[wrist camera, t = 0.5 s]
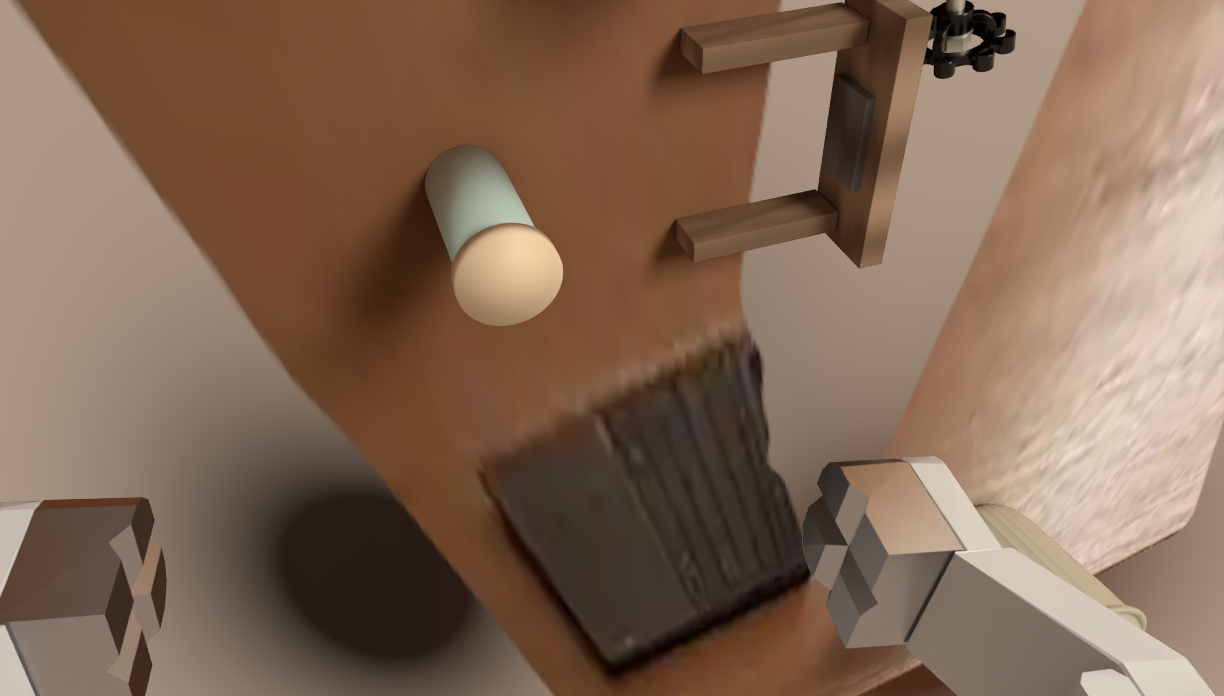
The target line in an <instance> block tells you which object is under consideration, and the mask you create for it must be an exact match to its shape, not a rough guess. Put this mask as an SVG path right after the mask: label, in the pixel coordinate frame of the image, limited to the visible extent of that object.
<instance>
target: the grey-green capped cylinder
mask: <svg viewBox="0 0 1224 696" xmlns="http://www.w3.org/2000/svg"><path fill="white" fill-rule="evenodd" d="M425 192H426V195H427V198H428V201H429V203H430V206H431V209H432V211H433V214H434V216H435V219H436V222H437V224H438V227H439V230H440V232H441V235H442V238H443V240H444V243H445V245H446V248H447V251H448V253H449V256H450V259H451V261H452V268H451V283H452V287H453V290H454V292H455V295H456V298H457V300H458V303H459V305H460V306H461V308H462V309H463V310H464V311H465V313H466V314H468V315H469V316H470V317H471V318H473V319H475V320H476V321H479V322H481V323H484V324H488V325H494V326H505V325H513V324H517V323H520V322H523V321H526V320H528V319H530V318H532V317H534V316H536V315H537V314H539V313H540V312H541V311H543V310H544V309H545V308H546V307H547V306H548V305H549V304H550V303H551V302H552V300H553V299H554V298H555V296H556V294H557V293H558V291H559V288H560V286H561V283H562V277H563V267H562V262H561V259H560V257H559V255H558V253H557V251H556V249H555V247H554V246H553V244H552V242H551V241H550V239H549V238H548V237H547V236H546V235H545V234H544V233H543V232H541V231H540V230H539V229H537V228H535V227H534V225H533V223H532V221H531V219H530V217H529V215H528V214H527V212H526V210H525V208H524V206H523V204H522V202H521V200H520V198H519V196H518V195H517V193H516V191H515V189H514V187H513V185H512V183H511V181H510V179H509V177H508V176H507V174H506V172H505V170H504V168H503V166H502V164H501V162H500V161H499V159H498V158H497V157H496V156H495V155H494V154H493V153H491V152H490V151H488V150H487V149H484V148H482V147H478V146H473V145H464V146H458V147H454V148H452V149H449V150H447V151H445V152H444V153H442V154H441V155H439V156H438V157H437V158H436V159H435V160H434V161H433V163H432V164H431V165H430V167H429V169H428V171H427V174H426V177H425Z"/></svg>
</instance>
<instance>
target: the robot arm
mask: <svg viewBox="0 0 1224 696" xmlns="http://www.w3.org/2000/svg"><path fill="white" fill-rule="evenodd" d="M817 485H818V487H819V489H820V491H821V493H822V496H821V497H820V498H819V499H818V500H816V501H815V502H814V503H813V504H811V505H810V506H809V507H808V509H807V512H806V515H805V519H804V522H803V525H802V545H803V550H804V554H805V558H806V562H807V564H808V566H809V569H810V571H811V573H812V576H813V578H815V579H816V580H817V581H819V582H820V583H821V584H823V585H824V586H825V587H827V588H828V589H829V590H830V593H829V597H828V600H827V603H826V607H827V609H828V611H829V613H830V616H831V618H832V620H833V622H834V624H835V627H836V629H837V631H838V633H839V635H840V637H841V640H842V642H843V644H844V646H845V648H859V647H873V646H887V645H901V644H907V645H906V647H905V648H906V649H908V650H909V651H910V652H911V653H912V654H913V655H914V656H915V657H916V658H917V659H918V660H920V661H921V662H922V663H923V664H924V665H925V666H926V667H927V668H928V669H929V670H930V671H932V672H933V673H934V674H935V675H936V676H937V677H938V678H939V679H940V680H941V681H942V682H944V683H945V684H946V685H947V686H948V687H949V688H950V689H951V690H952V691H953V692H954V693H955V694H957V695H958V696H1215V695H1214V693H1213V692H1212V691H1211V690H1210V688H1209V687H1208V686H1207V684H1206V683H1205V682H1204V681H1203V679H1202V678H1201V677H1200V675H1199V674H1198V673H1197V672H1196V670H1195V669H1194V668H1193V666H1192V665H1191V664H1190V663H1189V661H1188V660H1187V659H1186V658H1185V657H1183V656H1182V655H1180V654H1179V653H1177V652H1175V651H1174V650H1172V649H1171V648H1169V647H1167V646H1166V645H1164V644H1163V643H1161V642H1160V641H1158V640H1157V639H1155V638H1153V637H1152V636H1150V635H1148V634H1147V633H1146V632H1144V631H1142V630H1141V629H1139V628H1138V627H1136V626H1135V625H1133V624H1131V623H1130V622H1128V621H1127V620H1125V619H1124V618H1122V617H1120V616H1119V615H1117V614H1116V613H1114V612H1113V611H1111V610H1109V609H1108V608H1106V607H1105V606H1103V605H1102V604H1100V603H1098V602H1097V601H1095V600H1094V599H1092V598H1091V597H1089V596H1087V595H1086V594H1084V593H1083V592H1081V591H1080V590H1078V589H1076V588H1075V587H1073V586H1072V585H1070V584H1069V583H1067V582H1065V581H1064V580H1062V579H1061V578H1059V577H1058V576H1056V575H1054V574H1053V573H1051V572H1050V571H1048V570H1047V569H1045V568H1043V567H1042V566H1040V565H1039V564H1037V563H1036V562H1034V561H1032V560H1031V559H1029V558H1028V557H1026V556H1025V555H1023V554H1021V553H1020V552H1018V551H1017V550H1015V549H1014V548H1002V547H1001V546H1000V544H999V543H998V541H997V540H996V538H995V537H994V535H993V534H992V532H991V531H990V530H989V528H988V527H987V525H986V524H985V522H984V521H983V519H982V518H981V516H980V515H979V513H978V512H977V510H976V509H975V507H974V506H973V504H972V503H971V502H970V500H969V499H968V497H967V496H966V494H965V493H964V491H963V490H962V488H961V487H960V485H959V484H958V482H957V481H956V479H955V478H954V476H953V475H952V473H951V472H950V471H949V469H948V468H947V466H946V465H945V463H944V462H943V461H941V460H940V459H938V458H937V457H935V456H928V457H911V458H900V459H895V458H893V459H877V460H860V461H844V462H829V463H828V464H827V465H826V466H825V468H823V469H822V471H821V474H820V476H819V479H818V482H817ZM153 524H154V517H153V513H152V510H151V507H150V504H149V500H148V499H145V498H142V497H138V498H104V499H103V498H102V499H69V500H68V499H66V500H44V501H27V502H0V696H145V694H146V689H147V685H148V681H149V676H150V672H151V668H152V662H151V659H150V655H149V652H148V648H147V644H146V643H147V642H148V641H149V640H150V639H151V638H152V637H153V636H154V635H155V634H156V633H157V632H158V631H159V630H160V628H161V623H162V618H163V613H164V609H165V597H166V582H167V581H166V569H165V561H164V556H163V553H162V548H161V547H160V546H159V545H157V544H156V543H155V542H153V541H151V540H150V536H151V532H152V528H153Z"/></svg>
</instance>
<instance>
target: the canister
mask: <svg viewBox="0 0 1224 696" xmlns="http://www.w3.org/2000/svg"><path fill="white" fill-rule="evenodd" d="M975 509H976V510H977V512H978V513H979V515H980V516H981V518H982V519H983V521H984V522H985V524H986V525H987V527H988V528H989V530H990V531H991V532H992V534H993V535H994V537H995V538H996V540H997V541H998V543H999V544H1000V546H1001V547H1002V548H1014V549H1015V550H1017V551H1018V552H1020V553H1021V554H1023V555H1025V556H1026V557H1028V558H1029V559H1031V560H1032V561H1034V562H1036V563H1037V564H1039V565H1040V566H1042V567H1043V568H1045V569H1047V570H1048V571H1050V572H1051V573H1053V574H1054V575H1056V576H1058V577H1059V578H1061V579H1062V580H1064V581H1065V582H1067V583H1069V584H1070V585H1072V586H1073V587H1075V588H1076V589H1078V590H1080V591H1081V592H1083V593H1084V594H1086V595H1087V596H1089V597H1091V598H1092V599H1094V600H1095V601H1097V602H1098V603H1100V604H1102V605H1103V606H1105V607H1106V608H1108V609H1109V610H1111V611H1113V612H1114V613H1116V614H1117V615H1119V616H1120V617H1122V618H1124V619H1125V620H1127V621H1128V622H1130V623H1131V624H1133V625H1135V626H1136V627H1138V628H1139V629H1141V630H1142V631H1144V632H1145V629H1146V625H1147V622H1146V617H1145V615H1144V614H1143V613H1142V611H1140V610H1138V609H1137V608H1134V607H1131V606H1125V605H1124V604H1123V603H1122V602H1121V601H1120V600H1119V599H1118V598H1117V597H1116V596H1115V595H1114V594H1113V593H1112V592H1111V591H1110V590H1109V589H1107V588H1106V587H1105V586H1104V585H1103V584H1102V583H1101V582H1100V581H1098V580H1097V579H1096V578H1095V577H1094V576H1093V575H1092V574H1091V573H1090V572H1089V571H1087V570H1086V569H1085V568H1084V567H1083V566H1082V565H1081V564H1080V563H1079V562H1078V561H1077V560H1075V559H1074V558H1073V557H1072V556H1071V555H1070V554H1069V553H1068V552H1067V551H1065V550H1064V549H1063V548H1062V547H1061V546H1060V545H1059V544H1058V543H1056V542H1055V541H1054V540H1053V539H1052V538H1051V537H1050V536H1048V535H1047V534H1046V533H1045V532H1044V531H1043V530H1041V529H1040V528H1039V527H1038V526H1037V525H1036V524H1034V523H1033V522H1032V521H1031V520H1030V519H1028V518H1027V517H1026V516H1024V515H1023V514H1021V513H1020V512H1018V511H1017V510H1015V509H1012V508H1010V507H1007V506H1003V505H996V504H991V505H983V506H977V507H975Z"/></svg>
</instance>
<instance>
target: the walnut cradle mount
mask: <svg viewBox="0 0 1224 696" xmlns="http://www.w3.org/2000/svg"><path fill="white" fill-rule="evenodd" d="M932 19H933V15H932V14H930V13H929V12H927V11H925V10H924V9H922V8H920V7H919V6H917V5H915V4H913V3H912V2H910V1H909V0H845V4H843V3H842V2H841V3H835V4H829V5H822V6H817V7H810V8H804V9H798V10H791V11H785V12H779V13H773V14H767V15H760V16H754V17H748V18H742V19H736V20H729V21H723V22H717V23H711V24H705V25H699V26H692V27H686V28H681V54H682V55H683V56H684V57H685V58H686V59H687V60H688V61H689V62H690V63H691V64H692V65H693V66H694V67H695V68H696V69H697V70H698V71H699V72H700V73H701V74H706V73H711V72H717V71H723V70H728V69H734V68H740V67H745V66H751V65H757V64H763V63H768V62H774V61H780V60H785V59H791V58H797V57H802V56H808V55H813V54H819V53H825V52H830V51H836V50H838V52H837V59H836V66H835V73H834V80H833V87H832V94H831V101H830V108H829V115H828V122H827V128H826V135H825V143H824V150H823V157H822V164H821V171H820V177H819V184H818V191H816V190H815V189H814V190H810V191H805V192H801V193H796V194H791V195H787V196H782V197H777V198H773V199H768V200H763V201H759V202H754V203H749V204H745V205H740V206H735V207H731V208H726V209H722V210H717V211H712V212H708V213H703V214H698V215H694V216H689V217H684V218H680V219H676V233H675V238H676V239H677V241H678V242H679V243H680V245H681V246H682V247H683V249H684V250H685V252H686V253H687V254H688V256H689V257H690V258H691V260H692V261H693V263H695V262H699V261H704V260H708V259H712V258H717V257H721V256H726V255H730V254H734V253H739V252H743V251H747V250H752V249H756V248H760V247H765V246H769V245H774V244H778V243H782V242H786V241H791V240H795V239H800V238H804V237H809V236H813V235H817V234H822V233H826V234H827V235H828V236H829V238H830V239H831V240H832V241H833V242H834V243H835V244H836V245H837V246H838V247H839V248H840V249H841V250H842V251H843V252H844V253H845V254H846V255H847V256H848V257H849V258H850V259H851V261H852V262H853V263H854V264H855V265H856V266H857V267H858V268H860V269H861V268H865V267H868V266H872V265H877V264H881V263H882V258H883V253H884V249H885V244H886V239H887V234H888V229H889V225H890V220H891V215H892V210H893V205H894V201H895V196H896V191H897V186H898V182H899V176H900V172H901V166H902V162H903V158H904V153H905V148H906V143H907V138H908V134H909V128H910V124H911V119H912V115H913V109H914V105H915V100H916V95H917V91H918V86H919V81H920V76H921V72H922V67H923V62H924V57H925V52H926V48H927V43H928V38H929V33H930V29H931V24H932Z"/></svg>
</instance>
